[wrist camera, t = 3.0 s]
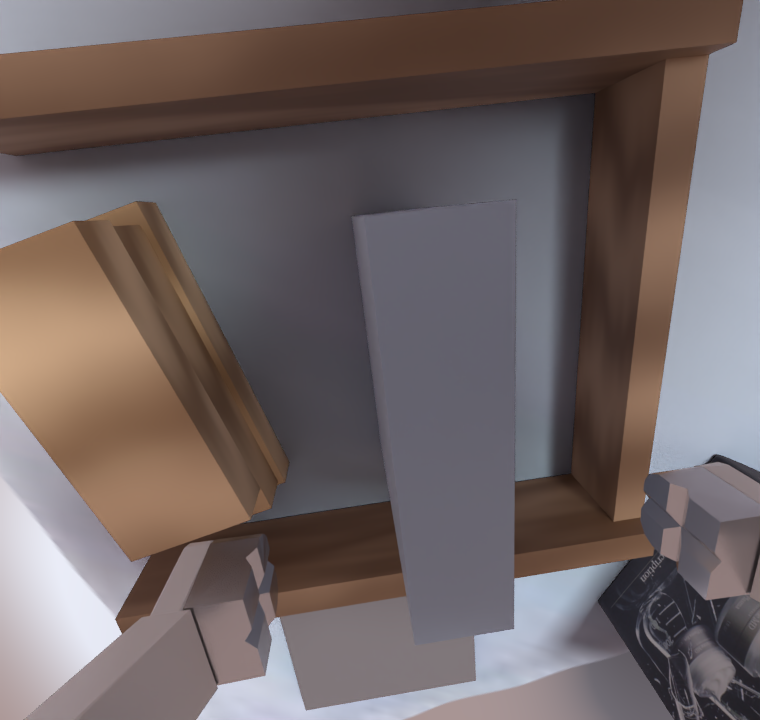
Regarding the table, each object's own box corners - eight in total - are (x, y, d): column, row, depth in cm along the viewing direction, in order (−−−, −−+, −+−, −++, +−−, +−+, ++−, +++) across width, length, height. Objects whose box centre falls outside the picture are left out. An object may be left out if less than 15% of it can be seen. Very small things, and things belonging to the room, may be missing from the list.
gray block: (351, 216, 18) (363, 217, 8) (417, 208, 18) (516, 199, 8) (380, 445, 22) (415, 645, 12) (434, 437, 22) (513, 628, 12)
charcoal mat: (272, 570, 24) (270, 581, 24) (466, 539, 25) (469, 549, 24) (306, 697, 29) (305, 710, 28) (472, 668, 29) (475, 680, 28)
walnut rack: (-1, 112, 16) (-149, 68, 11) (632, 47, 17) (746, -19, 12) (169, 556, 23) (126, 642, 19) (593, 490, 25) (653, 555, 20)
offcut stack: (31, 251, 18) (-116, 268, 12) (158, 202, 17) (70, 196, 12) (189, 495, 22) (138, 589, 17) (289, 459, 22) (272, 542, 17)
